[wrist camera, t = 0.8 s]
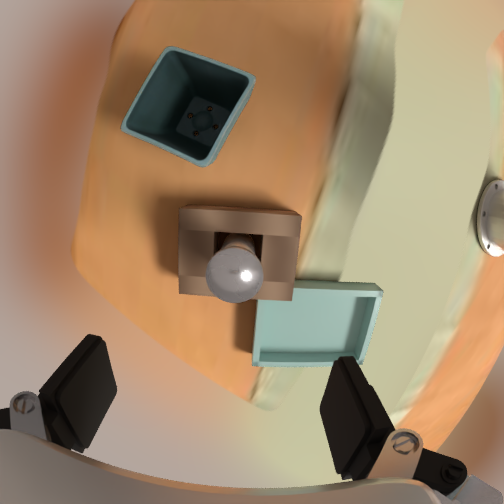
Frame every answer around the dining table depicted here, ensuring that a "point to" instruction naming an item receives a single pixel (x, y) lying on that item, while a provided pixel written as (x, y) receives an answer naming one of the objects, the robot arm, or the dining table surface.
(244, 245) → the pin
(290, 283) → the socket block
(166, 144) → the flower pot
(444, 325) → the dining table surface
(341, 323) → the tray
